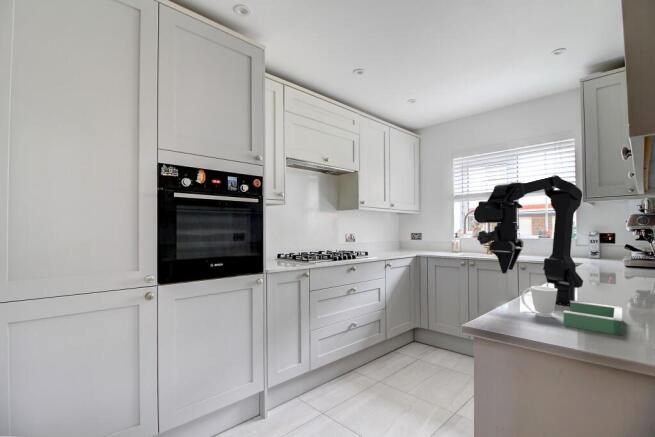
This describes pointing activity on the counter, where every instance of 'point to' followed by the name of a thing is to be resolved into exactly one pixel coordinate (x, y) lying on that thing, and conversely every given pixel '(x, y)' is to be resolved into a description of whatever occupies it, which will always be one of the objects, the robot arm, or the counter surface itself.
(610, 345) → the counter surface
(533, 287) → the cup
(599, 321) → the pocket
